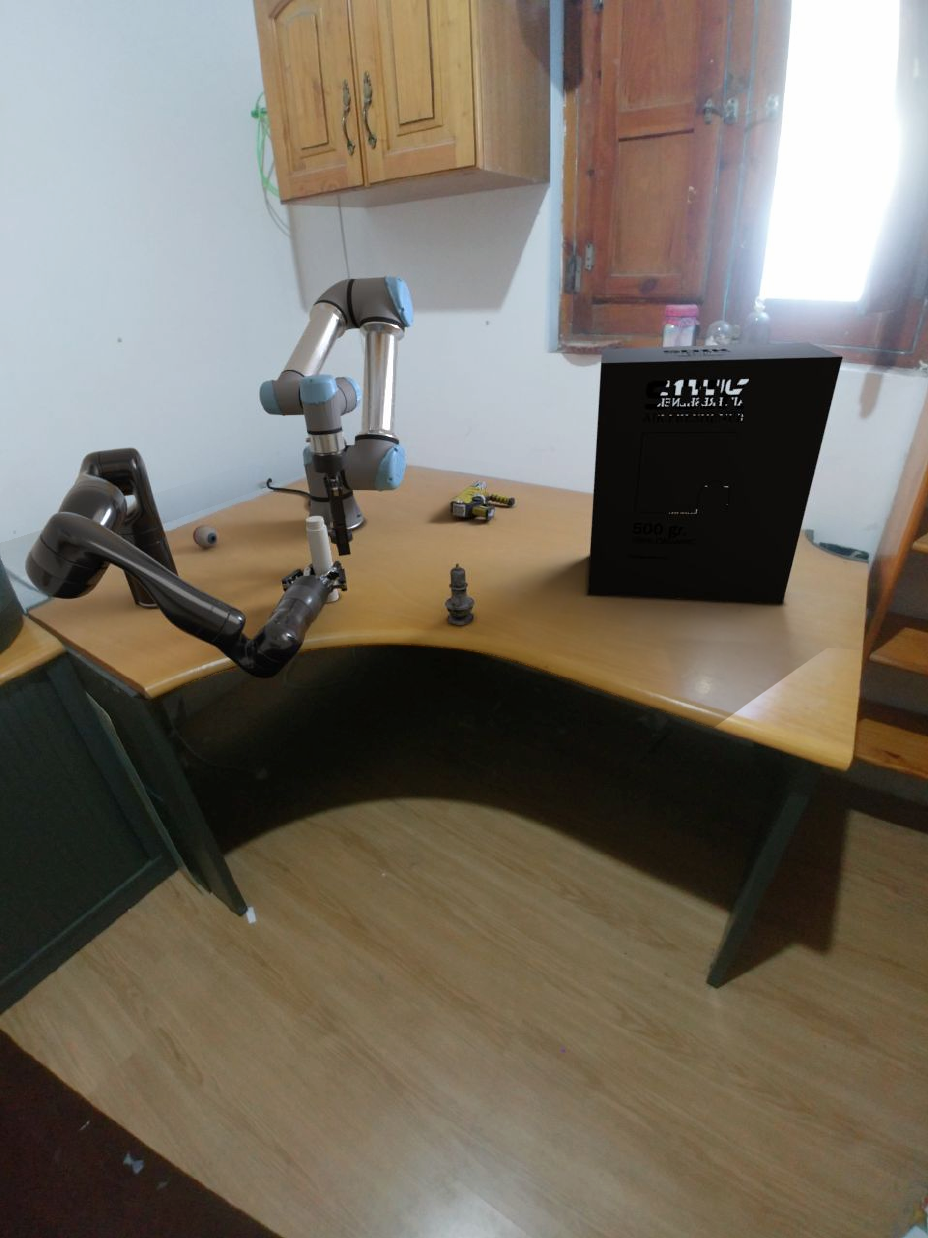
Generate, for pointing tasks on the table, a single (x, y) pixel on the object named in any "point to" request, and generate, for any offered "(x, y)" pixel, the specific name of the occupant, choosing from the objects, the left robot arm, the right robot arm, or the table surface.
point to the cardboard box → (705, 469)
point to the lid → (333, 536)
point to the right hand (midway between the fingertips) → (343, 550)
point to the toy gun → (477, 502)
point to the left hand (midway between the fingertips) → (327, 565)
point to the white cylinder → (320, 549)
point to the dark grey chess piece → (459, 599)
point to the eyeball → (205, 536)
